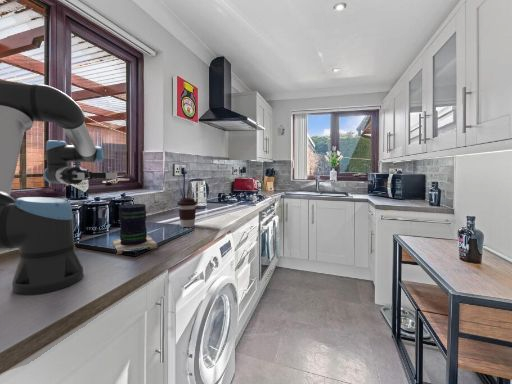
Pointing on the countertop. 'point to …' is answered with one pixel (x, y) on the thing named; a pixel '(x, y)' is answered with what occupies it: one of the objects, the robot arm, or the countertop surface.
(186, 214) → the coffee cup
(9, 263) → the countertop surface
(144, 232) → the storage jar
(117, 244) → the birch board
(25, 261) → the robot arm
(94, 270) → the countertop surface
